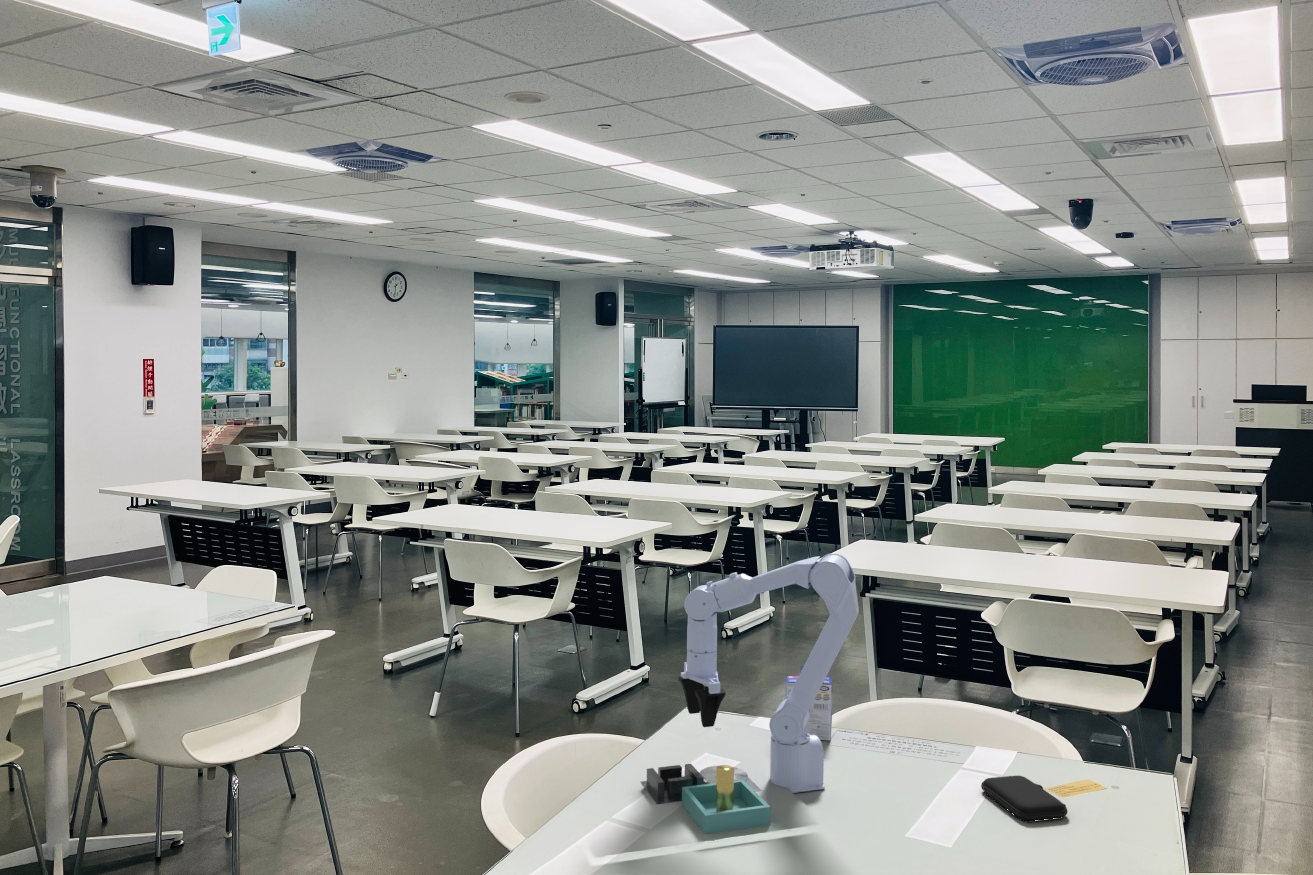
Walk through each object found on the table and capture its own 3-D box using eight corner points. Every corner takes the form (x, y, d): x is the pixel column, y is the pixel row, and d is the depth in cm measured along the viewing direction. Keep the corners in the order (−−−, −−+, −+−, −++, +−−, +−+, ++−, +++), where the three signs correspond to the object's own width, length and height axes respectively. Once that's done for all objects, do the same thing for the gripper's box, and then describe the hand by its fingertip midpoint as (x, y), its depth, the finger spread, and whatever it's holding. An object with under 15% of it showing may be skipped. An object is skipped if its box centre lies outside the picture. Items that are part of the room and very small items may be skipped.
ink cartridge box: (830, 732, 207) (832, 666, 206) (832, 741, 201) (833, 673, 201) (784, 729, 208) (785, 663, 207) (784, 738, 203) (785, 671, 202)
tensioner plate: (740, 774, 184) (740, 753, 184) (761, 795, 174) (761, 774, 174) (640, 786, 178) (640, 765, 177) (656, 809, 168) (657, 787, 168)
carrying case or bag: (1078, 821, 166) (1028, 786, 180) (1078, 804, 166) (1028, 770, 180) (1022, 826, 164) (976, 791, 178) (1023, 809, 163) (976, 775, 178)
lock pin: (730, 809, 166) (730, 764, 166) (735, 816, 163) (736, 770, 163) (713, 811, 165) (713, 765, 165) (719, 818, 162) (719, 772, 162)
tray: (742, 801, 172) (743, 779, 172) (770, 829, 161) (770, 806, 161) (681, 809, 168) (682, 787, 168) (705, 839, 157) (705, 815, 157)
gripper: (669, 641, 189) (669, 708, 190) (695, 661, 175) (694, 734, 176) (703, 638, 191) (702, 705, 192) (731, 658, 177) (730, 730, 178)
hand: (701, 719), depth 184 cm, fingers open, 7 cm apart
